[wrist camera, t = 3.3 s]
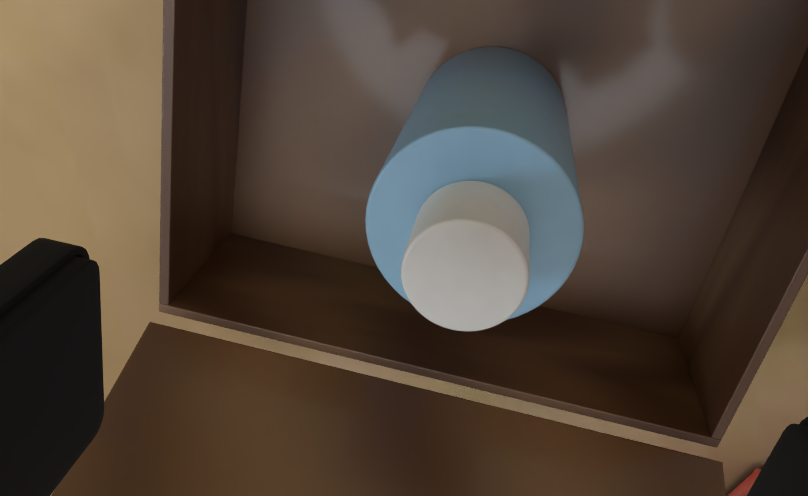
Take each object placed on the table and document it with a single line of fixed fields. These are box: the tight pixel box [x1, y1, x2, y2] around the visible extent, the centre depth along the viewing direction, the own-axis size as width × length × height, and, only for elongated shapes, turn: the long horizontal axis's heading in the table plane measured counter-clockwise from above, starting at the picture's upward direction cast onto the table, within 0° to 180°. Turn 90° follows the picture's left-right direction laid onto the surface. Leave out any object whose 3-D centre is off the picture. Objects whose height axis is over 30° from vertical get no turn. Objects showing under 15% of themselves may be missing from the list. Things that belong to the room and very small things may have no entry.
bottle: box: [365, 47, 584, 331], centre depth 18 cm, size 5×5×10 cm
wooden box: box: [159, 0, 808, 447], centre depth 20 cm, size 17×13×5 cm
